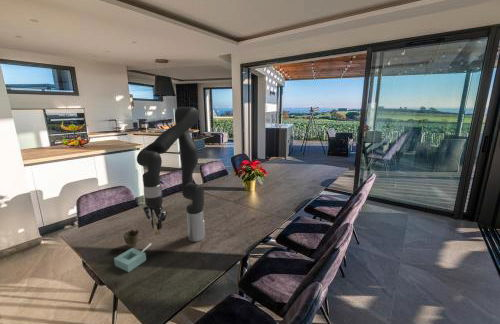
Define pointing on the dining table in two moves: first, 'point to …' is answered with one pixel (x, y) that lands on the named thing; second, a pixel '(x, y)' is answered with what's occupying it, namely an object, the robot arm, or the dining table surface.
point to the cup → (131, 238)
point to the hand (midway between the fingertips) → (157, 228)
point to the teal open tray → (130, 259)
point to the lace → (146, 247)
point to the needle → (155, 226)
